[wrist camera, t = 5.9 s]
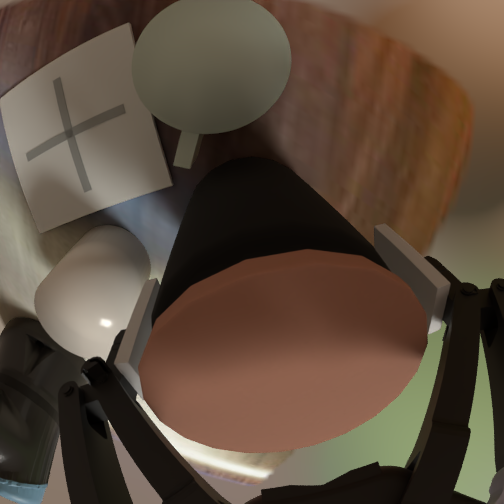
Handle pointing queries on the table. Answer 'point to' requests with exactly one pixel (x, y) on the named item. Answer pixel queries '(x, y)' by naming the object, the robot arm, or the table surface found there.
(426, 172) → the table surface
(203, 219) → the coffee jar
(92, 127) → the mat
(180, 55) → the mug sage
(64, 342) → the mug cream
